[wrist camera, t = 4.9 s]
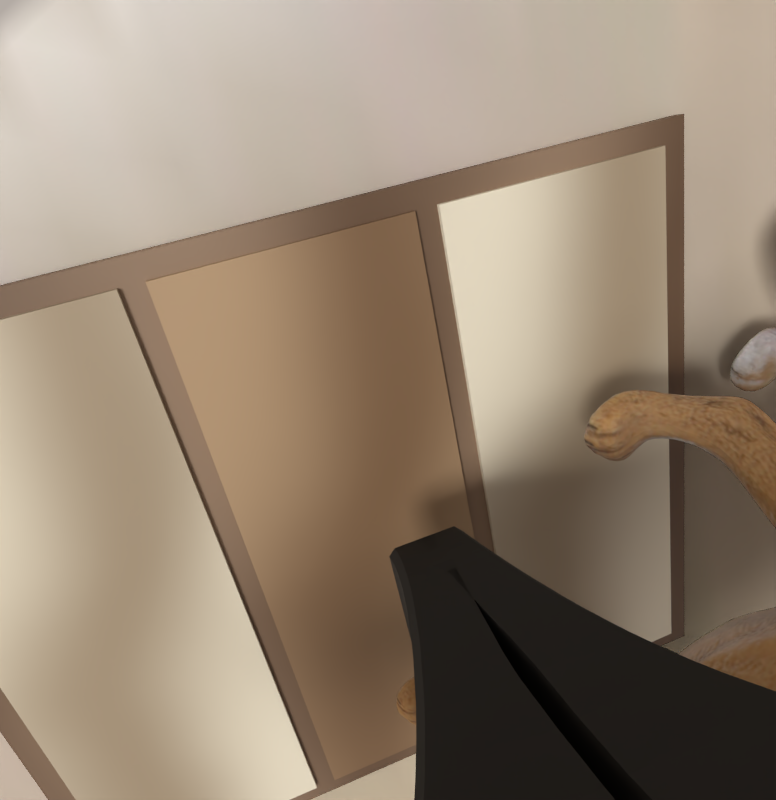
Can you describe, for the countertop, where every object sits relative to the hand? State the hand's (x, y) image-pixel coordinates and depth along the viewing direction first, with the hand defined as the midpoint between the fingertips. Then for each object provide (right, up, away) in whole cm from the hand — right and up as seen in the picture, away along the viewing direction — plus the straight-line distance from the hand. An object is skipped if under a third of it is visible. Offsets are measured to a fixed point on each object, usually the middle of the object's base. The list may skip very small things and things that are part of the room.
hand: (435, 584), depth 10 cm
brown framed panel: (-1, 0, +2) cm, 2 cm away
